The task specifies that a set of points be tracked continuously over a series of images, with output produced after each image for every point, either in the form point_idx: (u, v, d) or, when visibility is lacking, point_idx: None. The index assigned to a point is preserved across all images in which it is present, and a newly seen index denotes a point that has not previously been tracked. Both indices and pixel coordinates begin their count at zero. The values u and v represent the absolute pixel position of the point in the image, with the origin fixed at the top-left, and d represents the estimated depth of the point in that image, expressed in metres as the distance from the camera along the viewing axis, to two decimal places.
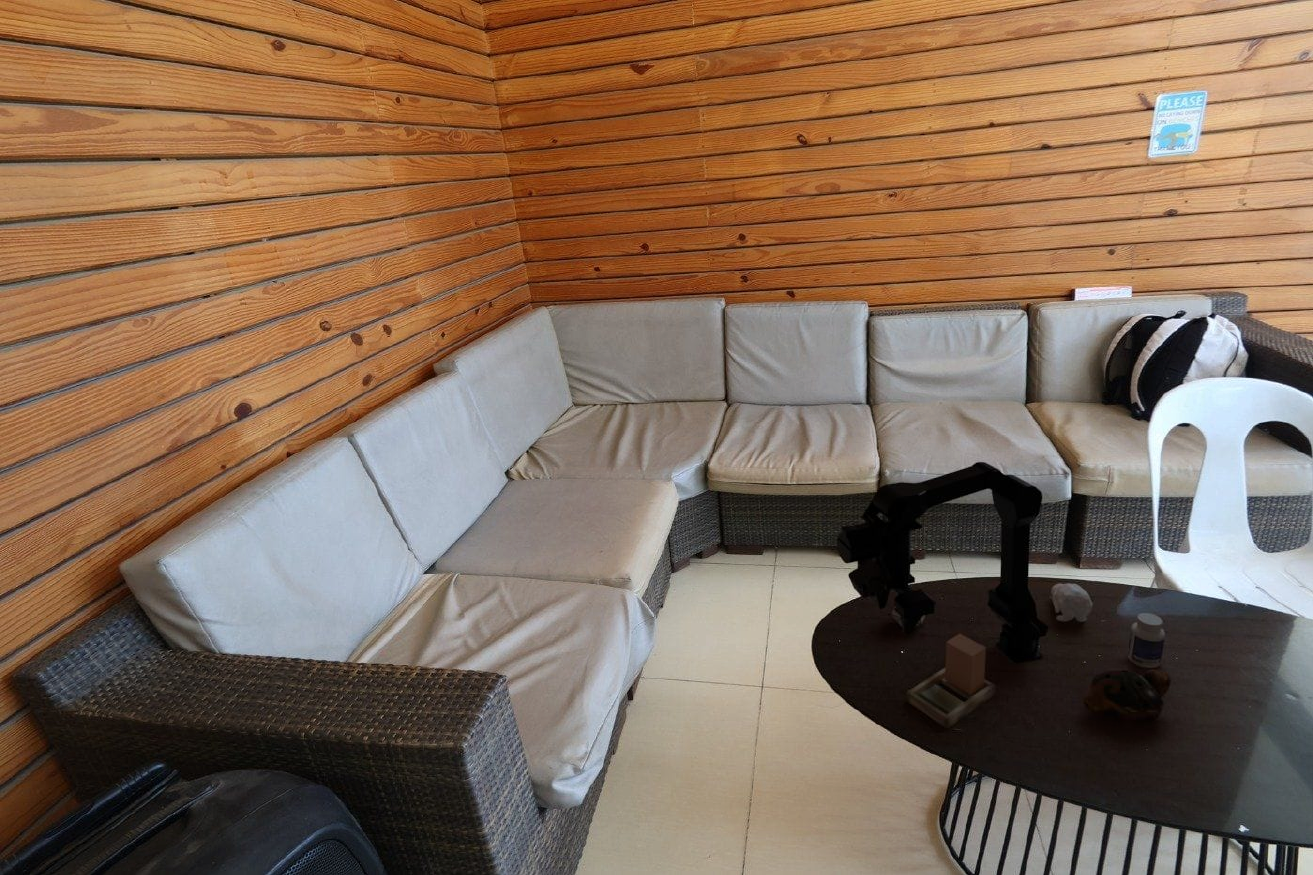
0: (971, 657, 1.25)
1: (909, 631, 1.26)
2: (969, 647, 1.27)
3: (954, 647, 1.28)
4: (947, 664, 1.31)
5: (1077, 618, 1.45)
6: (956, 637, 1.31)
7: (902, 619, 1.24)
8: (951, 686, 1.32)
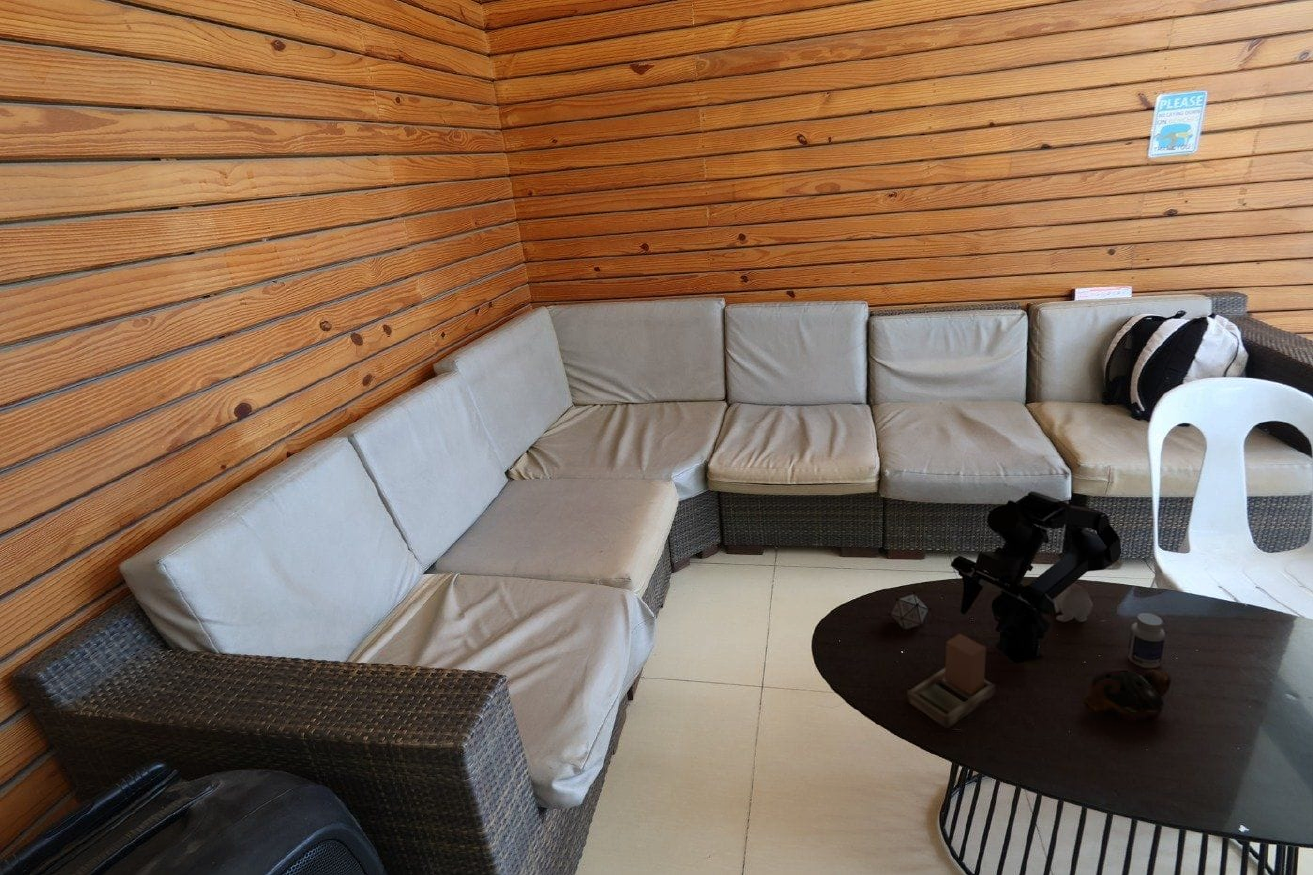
0: (971, 657, 1.25)
1: (1002, 628, 1.26)
2: (969, 647, 1.27)
3: (954, 647, 1.28)
4: (947, 664, 1.31)
5: (1077, 618, 1.45)
6: (956, 637, 1.31)
7: (1008, 611, 1.25)
8: (951, 686, 1.32)
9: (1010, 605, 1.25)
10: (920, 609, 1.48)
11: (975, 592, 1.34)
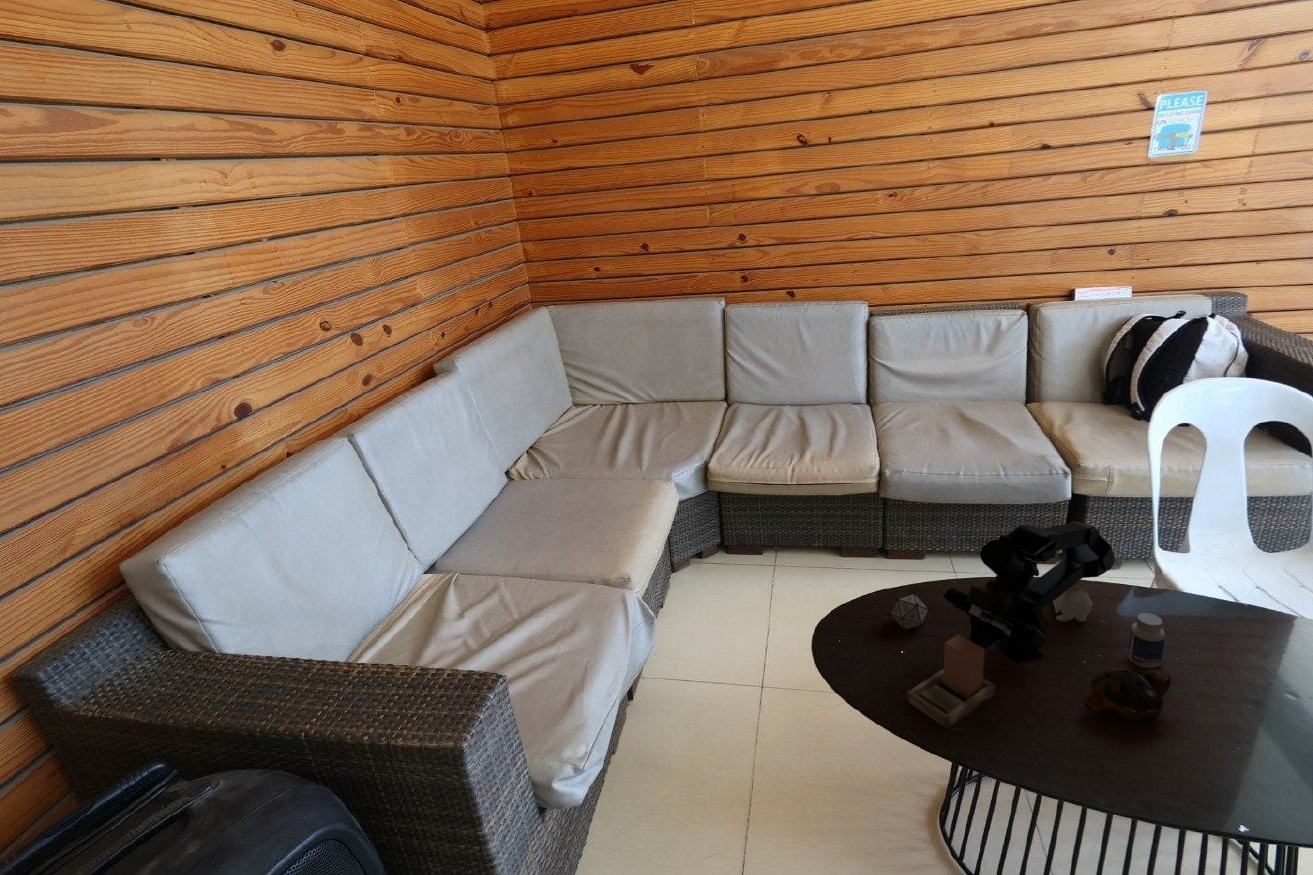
0: (969, 658, 1.25)
1: None
2: (968, 648, 1.27)
3: (952, 648, 1.28)
4: (946, 665, 1.31)
5: (1077, 618, 1.45)
6: (955, 638, 1.30)
7: (983, 636, 1.29)
8: (951, 686, 1.32)
9: (984, 630, 1.29)
10: (920, 609, 1.48)
11: None
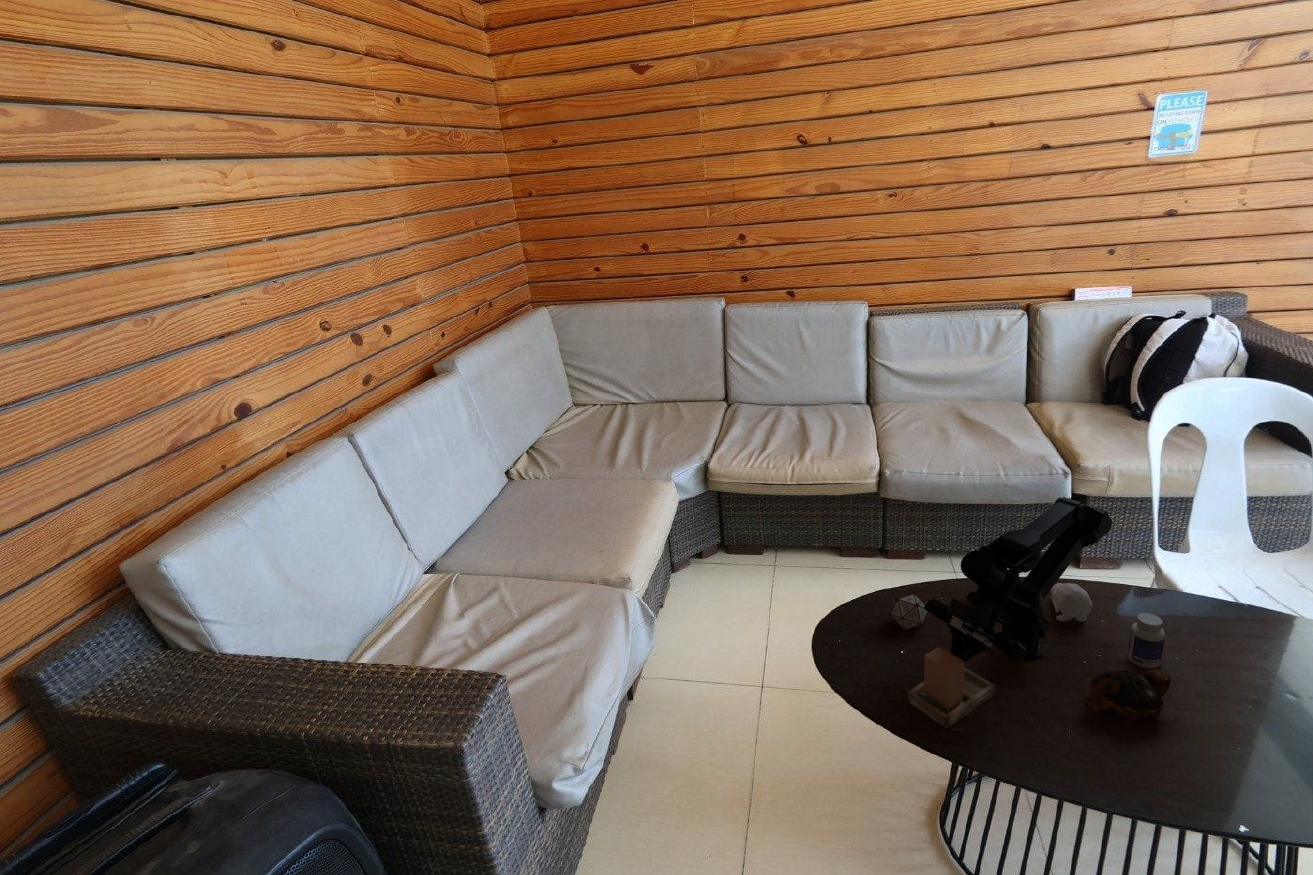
0: (949, 671, 1.23)
1: None
2: (947, 661, 1.25)
3: (932, 661, 1.26)
4: (926, 678, 1.28)
5: (1077, 618, 1.45)
6: (935, 650, 1.28)
7: (963, 648, 1.27)
8: None
9: (965, 643, 1.27)
10: (920, 609, 1.48)
11: None
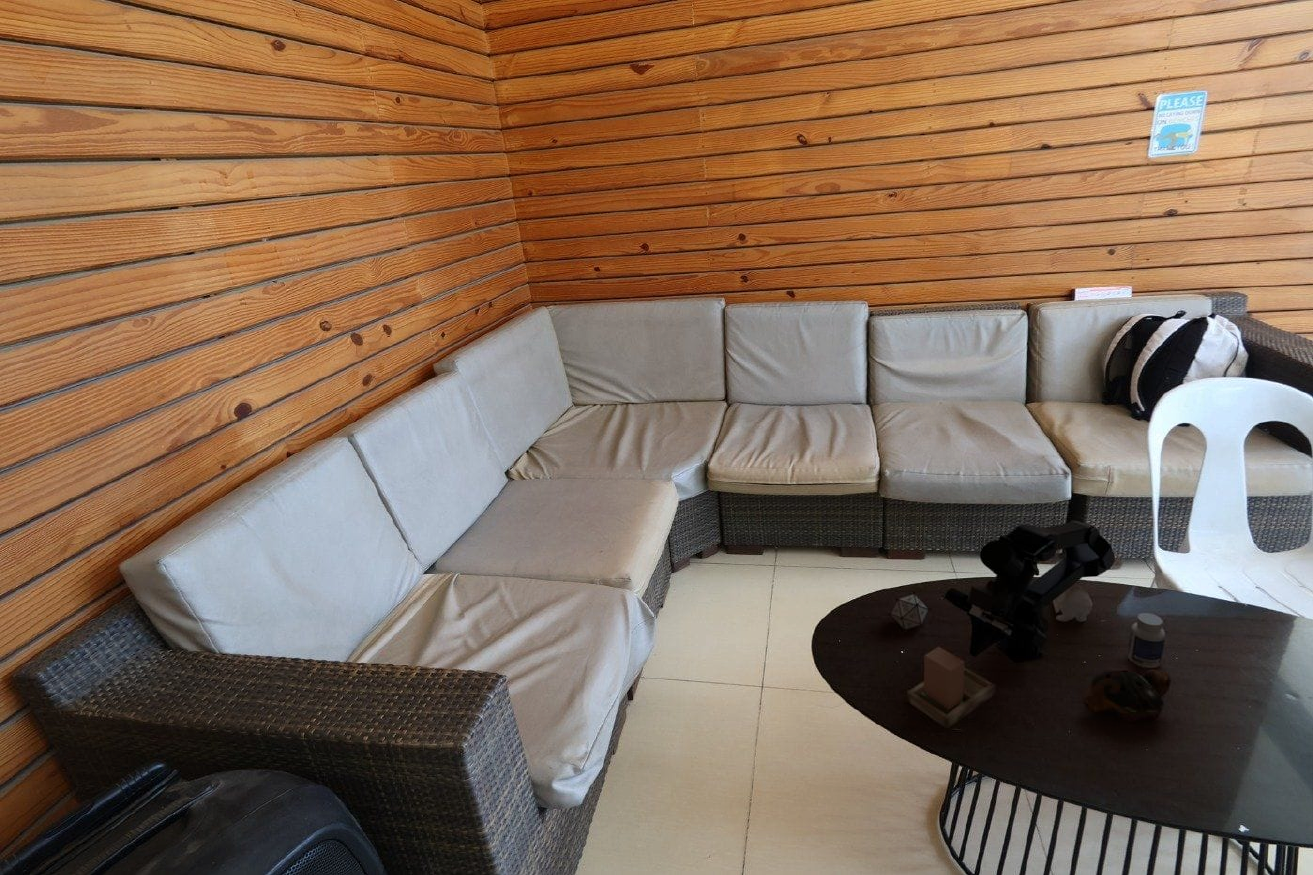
0: (949, 671, 1.23)
1: (978, 652, 1.30)
2: (947, 661, 1.25)
3: (932, 661, 1.26)
4: (926, 678, 1.28)
5: (1077, 618, 1.45)
6: (935, 650, 1.28)
7: (984, 636, 1.29)
8: None
9: (985, 631, 1.29)
10: (920, 609, 1.48)
11: None
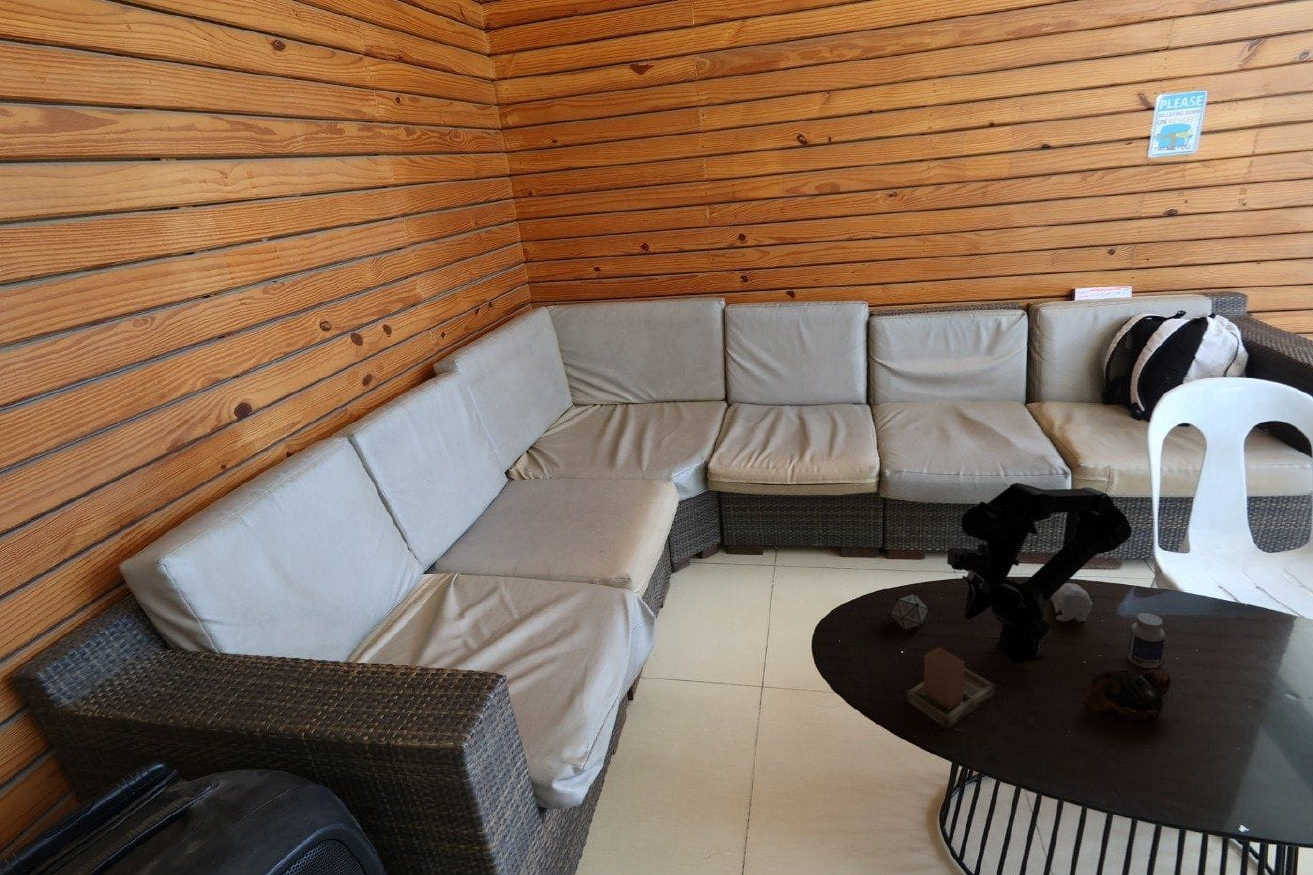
0: (949, 671, 1.23)
1: (971, 615, 1.31)
2: (947, 661, 1.25)
3: (932, 661, 1.26)
4: (926, 678, 1.28)
5: (1077, 618, 1.45)
6: (935, 650, 1.28)
7: (972, 598, 1.30)
8: None
9: (973, 592, 1.30)
10: (920, 609, 1.48)
11: None
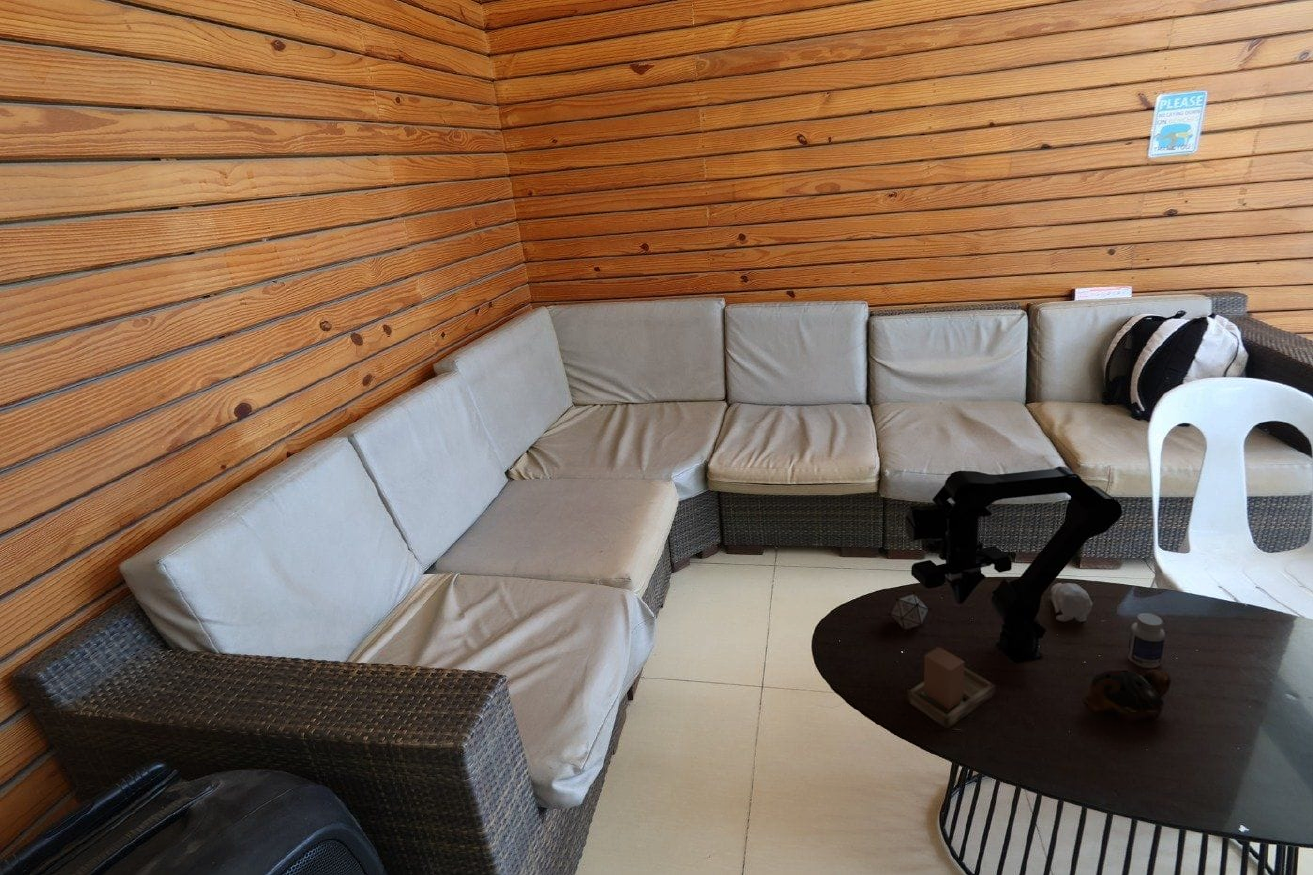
0: (949, 671, 1.23)
1: (957, 599, 1.36)
2: (947, 661, 1.25)
3: (932, 661, 1.26)
4: (926, 678, 1.28)
5: (1077, 618, 1.45)
6: (935, 650, 1.28)
7: None
8: None
9: None
10: (920, 609, 1.48)
11: (965, 583, 1.34)
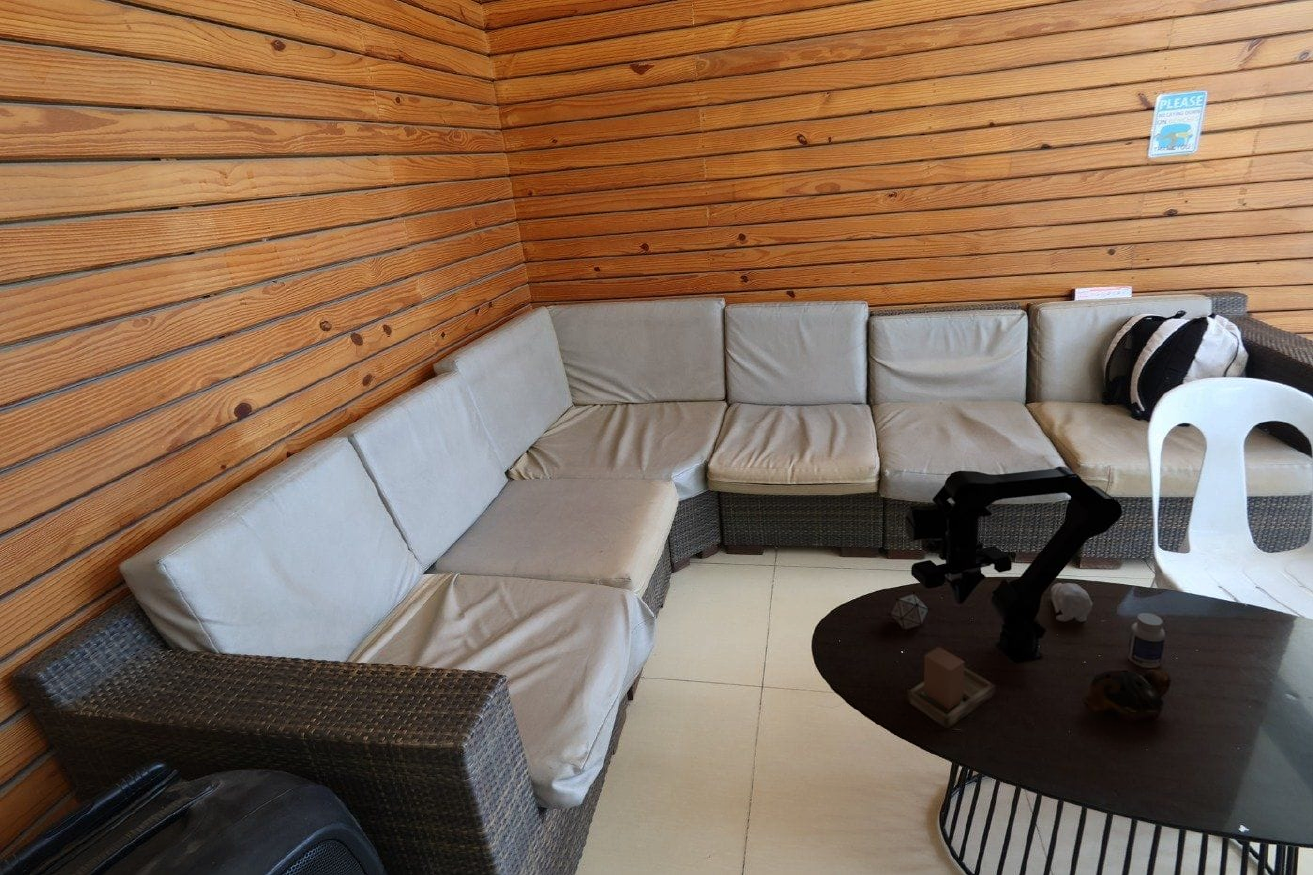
0: (949, 671, 1.23)
1: (957, 599, 1.36)
2: (947, 661, 1.25)
3: (932, 661, 1.26)
4: (926, 678, 1.28)
5: (1077, 618, 1.45)
6: (935, 650, 1.28)
7: None
8: None
9: None
10: (920, 609, 1.48)
11: (965, 583, 1.34)
